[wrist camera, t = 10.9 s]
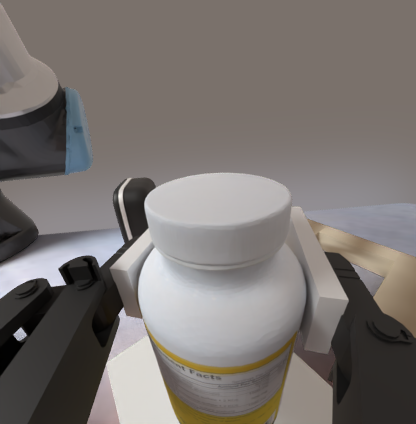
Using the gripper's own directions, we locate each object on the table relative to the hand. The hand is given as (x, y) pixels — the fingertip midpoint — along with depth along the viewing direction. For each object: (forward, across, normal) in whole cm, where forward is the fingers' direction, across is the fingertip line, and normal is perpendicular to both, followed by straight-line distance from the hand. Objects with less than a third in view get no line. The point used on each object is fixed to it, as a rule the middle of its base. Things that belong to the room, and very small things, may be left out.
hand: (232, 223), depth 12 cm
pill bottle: (-5, 0, -8) cm, 9 cm away
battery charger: (+8, -12, -11) cm, 18 cm away
